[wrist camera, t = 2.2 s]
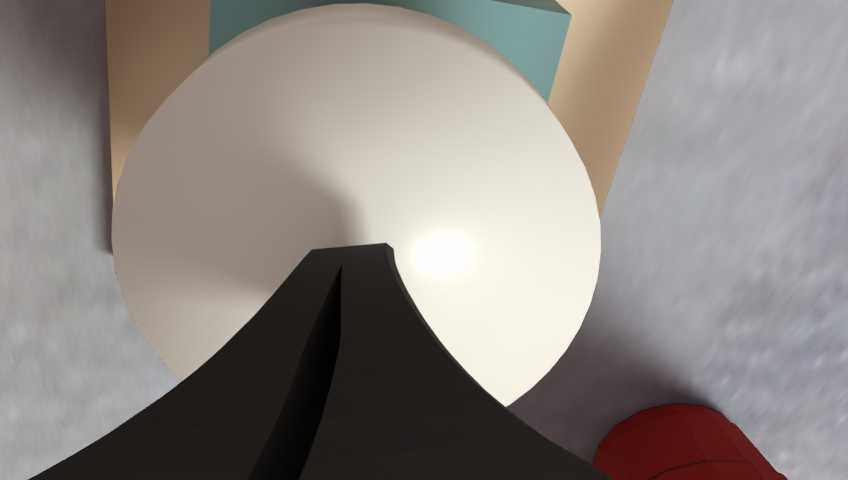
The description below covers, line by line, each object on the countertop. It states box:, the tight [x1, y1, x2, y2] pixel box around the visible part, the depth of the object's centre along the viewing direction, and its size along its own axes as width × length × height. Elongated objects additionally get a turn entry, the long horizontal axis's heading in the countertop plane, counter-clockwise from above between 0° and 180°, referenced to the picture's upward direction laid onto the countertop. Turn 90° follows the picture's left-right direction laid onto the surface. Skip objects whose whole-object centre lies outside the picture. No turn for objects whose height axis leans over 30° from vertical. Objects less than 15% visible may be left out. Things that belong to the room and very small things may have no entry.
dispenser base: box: [105, 0, 673, 274], centre depth 18 cm, size 14×12×3 cm
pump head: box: [111, 3, 601, 407], centre depth 14 cm, size 8×8×4 cm
